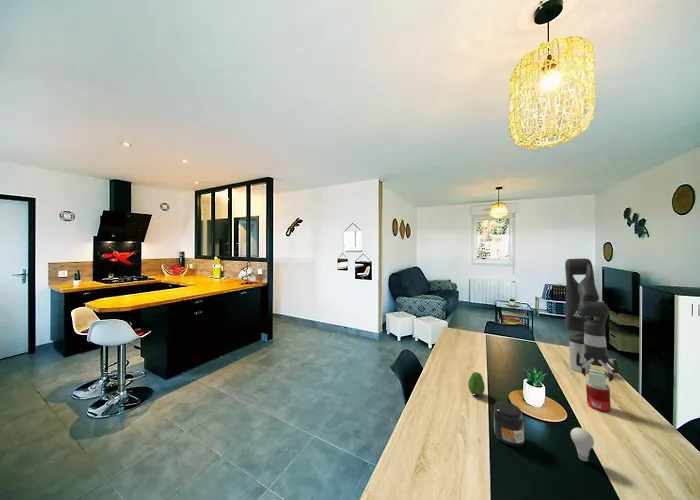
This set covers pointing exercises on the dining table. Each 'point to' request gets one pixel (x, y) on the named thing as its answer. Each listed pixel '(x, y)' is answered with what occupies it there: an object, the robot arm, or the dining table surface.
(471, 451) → the dining table surface
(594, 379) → the sage block
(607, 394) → the canned food
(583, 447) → the lightbulb
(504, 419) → the supplement container
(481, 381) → the avocado
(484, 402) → the dining table surface
